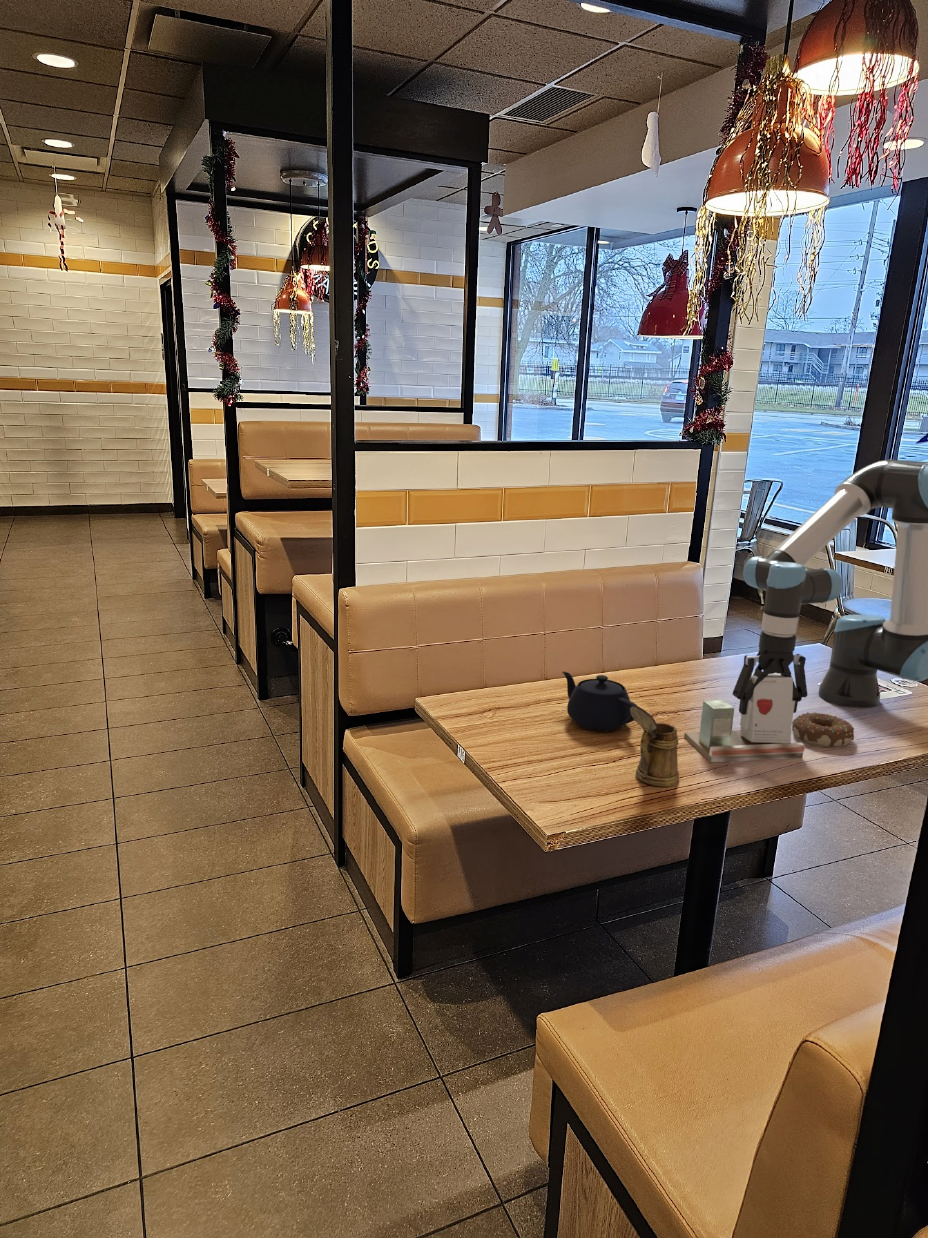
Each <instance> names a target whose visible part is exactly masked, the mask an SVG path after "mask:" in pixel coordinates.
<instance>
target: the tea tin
mask: <svg viewBox="0 0 928 1238" xmlns="http://www.w3.org/2000/svg"><path fill="white" fill-rule="evenodd" d="M734 716H735V707H734V706H733V705H732V704H730V703H728V701H726V700H724V699H718V700H717V699H716V700H715V699H714V700H711V699H710V700H703V701H702V711H701V720H700V729H699V732H700V736H699V742H700V743H701V744H702V745H703V746H704V747H705V748H706V749H707V750H708V751H710V747H715V746H730V741H731V733H732V731H733V725H734V724H733V723H734Z"/></svg>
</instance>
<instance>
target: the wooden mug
mask: <svg viewBox="0 0 928 1238" xmlns="http://www.w3.org/2000/svg"><path fill="white" fill-rule="evenodd" d="M630 711H631V715H632V717H633V718H634V720H633V721H635V722H636V724H637V725H639V727H641V728H642V730H643V732H642V735H641V740H640V745H639V748H640V749H639V750H640V757H639V762H638V765H637V766H636V769H635V777H636V779H638V780H639V781H640V782H642V783H644V784H646V785H649V786H652V787H659V788H667V787H668V788H669V787H672V786H675V785H677V784H678V782H679V781H680V772H679V765H678V745H679V736H678V730H677V728H676V727H675V726H674V725H671V724H669V723H666V722H656V720H655V719H654V717H653V716H652V715H651V714H650V713H649V712H647V710H645V709H644V708H642V707H640V706H639V705H637V706H632V707H631V708H630Z"/></svg>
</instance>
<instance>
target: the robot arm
mask: <svg viewBox="0 0 928 1238" xmlns="http://www.w3.org/2000/svg"><path fill="white" fill-rule="evenodd" d="M876 508H885V509H892V512H891V520H892V522H894V523H895V525H896V526H897V536H896V545H895V546H896V547H895V557H894V567H893V568H894V569H893V571H894V572H893V579H892V580H893V581H892V582H893V583H892V593H891V594H892V595H891V603H890V616H889V618H887V620H886V618H885V617H884V616H880V615H873V614H848V615H842V616H840V617H838V619H837V621H836V624H835V629H834V630H833V633H834V634H833V641H832V647H831V653H830V654H831V655H830V662H829V667H828V669H827V671H826V673H825V674H824V677H823V679H822V682H821V683H820V684H819V687H818V695H819V697H820V698H822V699H823V700H825V701H827V702H829V703H832V704H836V705H839V706H845V707H850V708H859V709H861V708H862V709H863V708H864V709H867V708H868V709H869V708H874V707H877V706H879V705H880V702H881V701H880V699H881V692H880V685H879V681H878V677H877V674H878V671H880V672H883V673H886V674H889V675H893V676H895V677H898V678H900V679H902V680H909V681H913V682H922V681H925V680H927V679H928V461H915V460H914V461H913V460H900V459H891V458H890V459H885V460H878V461H875V462H873V463H871V464H868V465H866V466H864V467H862V468H860V469H858V470H857V471H855V472H853V473H852V474H851V475H849V476H848V477H847V478H846V479H844V480H843V481H841V482H840V483H839V484H838V485H837V486H836V487H835V489H834V495H833V496H832V497H830V498H829V499H828V500H827V501H826V502H825V503H824V504H822V505H821V506H820V508H818V509H817V510H816V511H815V512H814V513H812V515H810V517H808V519H806V520H805V521H804V522H803V523H802V524H801V525H800V526H798V527H797V528H796V529H795V530H794V531H792V533H791V534H790V535H788V536H787V537H786V539H784V540H783V541H782V542H781V543H780V544H779V545H777V547H775V549H773V550H772V551H771V552H770V553H769V554H767V556H766V557H764V556H759V555H758V556H757V555H756V556H752V557H750V558H749V559H748V560H747V562H746V563H745V565H744V567H743V570H742V571H743V572H742V575H743V579H744V581H745V583H746V584H747V585H748V586H750V587H752V588H754V589H758V590H759V591H765V596H764V597H765V598H764V607H763V613H762V620H761V621H762V622H761V628H760V629H761V631H760V633H759V642H758V652H757V654H756V655H749V654H745V655H744V657H743V665H742V668H741V670H740V672H739V675H738V678H737V680H736V684H735V685H734V687H733V691H732V696H734V698H736V699H737V700H739V706H738V712H739V714H740V720H739V721H740V722H739V725H740V727H741V726H742V727H743V728H745V729H749V724H750V717H751V709H752V702H751V701H750V699H751V697H752V696H753V692H754V688H755V687H756V686H757V685H758V684H759V683H760V682H761V681H762V680H763V679H764V678H765V677H767V676H768V674H773V673H778V674H781V675H782V676H785V677H792V678H793V676H792V672H791V670H790V667H789V666H790V665H791V664H793V673H794V680H795V681H794V680H793V695H792V720H794V719H793V718H794V714H795V713H797V711H798V704H799V703H800V702H801V701H802V699H803V698H807V697H808V685H807V680H806V671H805V665H806V660H807V659H806V657H805V656H803V655H801V654H800V653H796V654H794V652H795V648H796V640H797V636H796V634H797V633H798V629H799V622H800V621H799V620H800V612H801V607H802V606H803V605H810V604H811V605H813V604H819V603H820V604H824V603H827V602H830V601H834V600H835V599H837V598H838V597H840V595H841V592H842V589H843V580H842V577H841V576H840V574H839V573H838V572H837V571H836V570H835V569H833V568H824V567H821V568H811V567H808V566H805V565H806V564H807V563H809V561H811V559H813V558H814V557H815V556H816V555H817V554H818V553H819V552H820V551H822V549H824V548H825V547H826V546H827V545H828V544H829V543H830V542H831V541H832V540H834V538H836V536H838V535H839V534H840V533H841V532H843V530H844V529H845V528H847V527H848V526H849V525H850V524H851V523H852V522H853V521H854V520H855V519H856V518H858V516H859V517H862V516H865V515H866V514H869V512H870V511H871V510H873V509H876ZM757 663H758V665H757ZM755 667H756V668H755ZM754 669H755V670H754ZM752 673H754V674H753V676H756V677H758V678H757V680H756V682H755V683H753V681H752V679H750V677H751V675H752ZM792 722H793V721H792ZM792 722H791V727H792Z"/></svg>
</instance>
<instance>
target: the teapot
mask: <svg viewBox="0 0 928 1238" xmlns="http://www.w3.org/2000/svg"><path fill="white" fill-rule="evenodd" d="M562 674H563V675H564V677H565V679H566V684H567V685H566V687H567V688H566V689H567V691H566V692H567V697H568V702H567V706H566V711H567V714H568V716H569V718H570V719H571V720H572V721H573V722H574V723H575V724H576V725H577V726H579V727H581V728H582V729H585V730H589V731H592V732H600V733H601V732H602V733H603V732H605V733H607V732H608V733H609V732H613V731H617V730H621V728H622V727H624V726H625V725H627V724H629V723H632V722H634V721H635V720H634V718H633V717H632V715H631V711H630V708H631V707H632V706H638V705H637V704H636V703H634V702H633V701H631V699H630V696H629V694H628V691H627V689H626V687H625V685H623V684H622V683H620V682H617V681H614V680H610V679H609V677H608V676H607V675H603V674H602V675H601V674H598V675H596V676H595V677H596V678H588V679H584V680H580V681H579V682H578V683H577V684H576V683H575V680H574V677H573V676H572V674H571V673H570V672H568V671H562Z"/></svg>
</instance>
